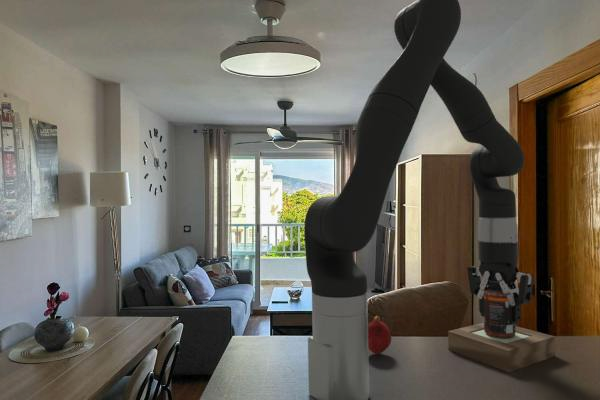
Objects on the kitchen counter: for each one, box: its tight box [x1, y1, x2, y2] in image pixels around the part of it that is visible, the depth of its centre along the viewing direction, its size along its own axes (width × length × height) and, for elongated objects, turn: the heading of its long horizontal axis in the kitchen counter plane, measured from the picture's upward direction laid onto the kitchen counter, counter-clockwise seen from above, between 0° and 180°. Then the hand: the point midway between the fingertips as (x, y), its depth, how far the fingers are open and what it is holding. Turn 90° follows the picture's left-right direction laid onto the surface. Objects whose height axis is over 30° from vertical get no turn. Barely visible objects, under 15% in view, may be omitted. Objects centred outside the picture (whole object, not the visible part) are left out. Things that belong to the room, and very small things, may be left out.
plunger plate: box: [473, 330, 529, 343], centre depth 88 cm, size 8×8×1 cm
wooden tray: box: [447, 322, 556, 373], centre depth 88 cm, size 15×14×4 cm
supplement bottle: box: [483, 280, 517, 338], centre depth 88 cm, size 6×6×11 cm
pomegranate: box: [368, 315, 392, 356], centre depth 88 cm, size 6×6×8 cm
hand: (499, 319), depth 88 cm, fingers closed on supplement bottle, 6 cm apart
